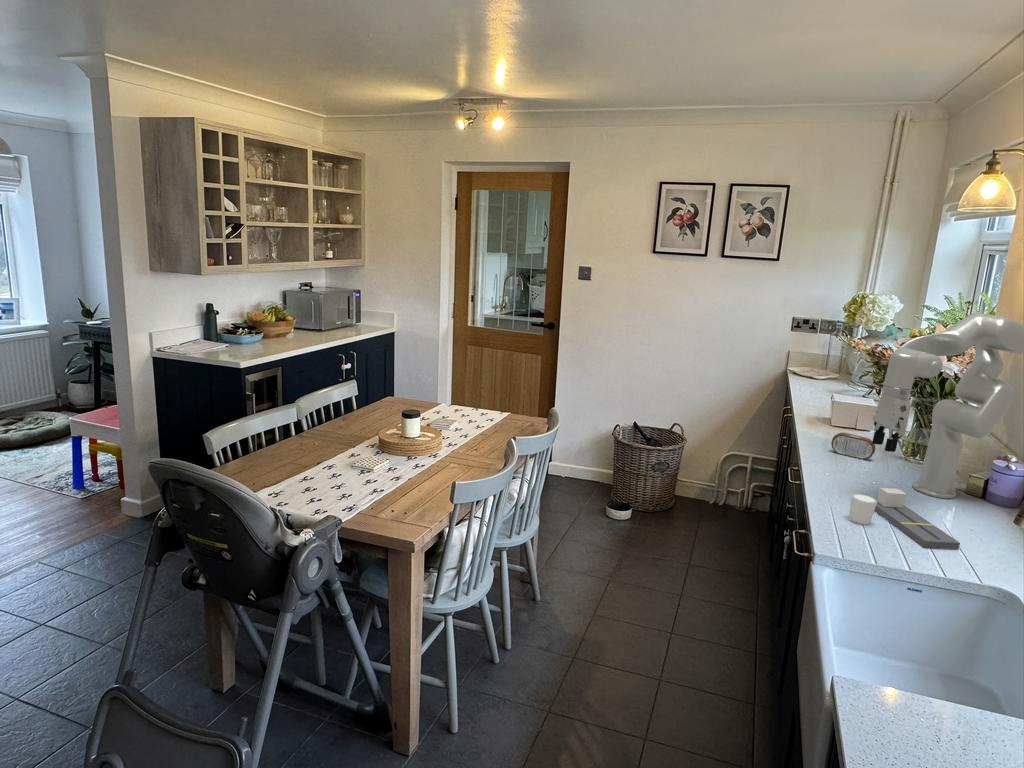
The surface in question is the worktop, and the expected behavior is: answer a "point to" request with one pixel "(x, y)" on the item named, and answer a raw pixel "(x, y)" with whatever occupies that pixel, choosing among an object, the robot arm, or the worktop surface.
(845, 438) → the tin
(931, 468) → the robot arm
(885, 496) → the fader knob
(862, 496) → the white cylinder
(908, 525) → the fader track
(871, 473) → the worktop surface
